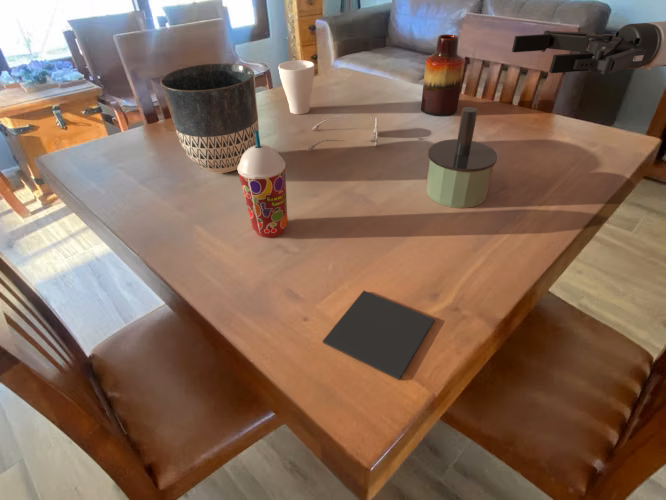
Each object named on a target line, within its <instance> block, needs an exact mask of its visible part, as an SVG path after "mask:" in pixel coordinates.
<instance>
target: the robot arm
mask: <svg viewBox="0 0 666 500" xmlns="http://www.w3.org/2000/svg"><path fill="white" fill-rule="evenodd" d="M548 49H550V50H558V51H568V52H575V53H562V54H561V53H559V54H553V56H552V60H551V63H550V68H549V70H548V73H549V74H561V73H562V74H563V73H574V72H575V73H577V72H587V71H589V70H590V71H591V72H593V73H596V72H599V71H600V74H601V75H603V76H606V75H610V74H613V73H616V72H619V71H621V70H631V69H632V70H634V69H645V70H646V71H650V70H651V69H652V68H654V67H656V68H657V67H659V68H660V67H666V20H664V21H649V22H637V23H628V24H625V25H624V26H622V27H620V28H619V30H618V31H616V32H615V33H614V34H613V33H612V34H611V33H603V34H601V33H600V32H599V31H593V32H592V31H590V32H589V31H587V32H586V31H584V32H583V31H582V32H581V31H560V30H557V31H556V30H544V32H543V33H542V34H527V35H525V34H523V35H515V36H514V39H513V44H512V49H511V52H512V53H527V52H539V51H541V53H545V52H546V50H548ZM587 49H588V50H587ZM576 52H577V53H576Z"/></svg>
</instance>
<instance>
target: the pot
mask: <svg viewBox="0 0 666 500" xmlns="http://www.w3.org/2000/svg"><path fill="white" fill-rule="evenodd" d="M494 166H495V165H494ZM494 166H492V167H491V168H489V169H486V170H482V171H476V172H461V171H454V170H449V169H446V168H443V167H440V166H438V165H436V164H435V163H433V162H432V161H431V160H430V159H429V158H428V165H427V167H428V168H427V174H426V175H427V176H426V182H425V193H426V195H427V197H428V198H429V199H430V200H431V201H433V202H434V203H437V204H438V205H441V206H444V207H448V208H454V209H468V208H474V207H477V206H479V205H481V204H482V203H483V202H484V201H485V200H486V198H487V196H488V192H489V188H490V183H491V181H492V174H493V171H494Z"/></svg>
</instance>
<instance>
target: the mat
mask: <svg viewBox="0 0 666 500" xmlns="http://www.w3.org/2000/svg"><path fill="white" fill-rule="evenodd" d="M434 323H435V318H433V317H430V316H428V315H425V314H422V313H420V312H417V311H415V310H413V309H411V308H408V307H405V306H403V305H401V304H398V303H395V302H393V301H391V300H388V299H386V298H384V297H381V296H379V295H376V294H374V293H371V292H368V291H366V290H363V291H362V292H361V293H360V294H359V295H358V297H357V298H356V299H355V300H354V302H353V303H352V304H351V305H350V307H349V308H348V309H347V310H346V311H345V313H344V314H343V315H342V317H340V319H339V320H338V321H337V323H336V324H335V325H334V326H333V327H332V329H331V330H329V332H328V333H327V334H326V336H325V337H324V338H323V340H322V344H324V345H327V346H328V347H331V348H332V349H334V350H336V351H339V352H341V353H343V354H345V355H347V356H349V357H351V358H353V359H355V360H357V361H359V362H361V363H363V364H366V365H367V366H369V367H371V368H373V369H375V370H377V371H379V372H381V373H384V374H386V375H387V376H389V377H392V378H393V379H395V380H397V381H400V380H401V379H402V377H403V375H404V373H405V372H406V370H407V369H408V366H409V365H410V363H411V361H412V360H413V359H414V356H415V355H416V353H417V352H418V350H419V348H420V346H421V344H422V343H423V341H424V339H425V338H426V336H427V334H428V332H429V331H430V329H431V327H432V326H433V324H434Z"/></svg>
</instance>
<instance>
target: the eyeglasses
mask: <svg viewBox="0 0 666 500" xmlns="http://www.w3.org/2000/svg"><path fill="white" fill-rule="evenodd" d="M333 119H360V117H354V116H353V117H346V116H345V117H344V116H343V117H342V116H340V117H339V116H338V117H336V116H335V117H331V118H327V119H325V120H322V121H320V122H319V123H317V124H316V125H314V126H313V127H312V131H317V130H318V129H319V128H320V126H321V125H322V124H323V123H325V122H327V121H329V120H333ZM370 120H375V121H374V129H373V138H375V139H371V140H370V142H371V143H375V149H377V148H378V139H379V138H378V137H379V131H378V118H377V116H371V117H370ZM325 142H345V140H344V139H343V140H341V139H340V140H339V139H325V140H321V141H319V142H316V143H314V144H312V145H311V146H309V147H308V148H307V149H306V150H307V152H312V151H313V150H314V149H315V147H316V146H318V145H320V144H322V143H325Z"/></svg>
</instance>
